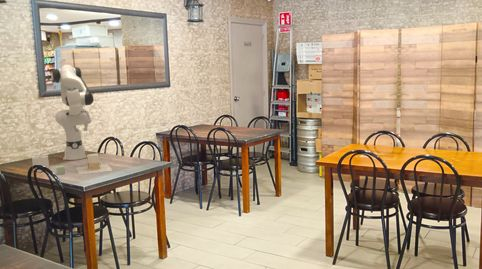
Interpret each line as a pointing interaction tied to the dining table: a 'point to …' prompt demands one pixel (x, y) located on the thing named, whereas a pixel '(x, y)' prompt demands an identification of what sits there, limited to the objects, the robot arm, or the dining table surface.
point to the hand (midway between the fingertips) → (81, 131)
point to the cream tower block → (93, 158)
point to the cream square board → (85, 170)
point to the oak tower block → (93, 166)
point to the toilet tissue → (40, 161)
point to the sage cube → (60, 170)
